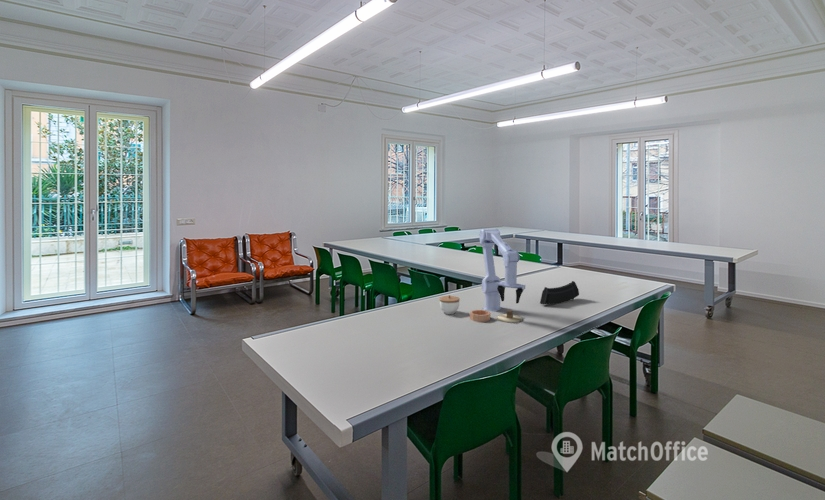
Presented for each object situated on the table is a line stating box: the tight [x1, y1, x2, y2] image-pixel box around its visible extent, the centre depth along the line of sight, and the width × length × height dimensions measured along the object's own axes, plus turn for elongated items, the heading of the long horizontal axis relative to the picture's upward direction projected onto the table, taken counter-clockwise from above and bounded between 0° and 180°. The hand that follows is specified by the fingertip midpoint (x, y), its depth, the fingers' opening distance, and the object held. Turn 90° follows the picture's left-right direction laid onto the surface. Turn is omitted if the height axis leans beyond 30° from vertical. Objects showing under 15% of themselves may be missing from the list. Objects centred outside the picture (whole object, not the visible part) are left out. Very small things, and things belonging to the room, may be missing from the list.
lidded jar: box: [439, 294, 460, 315], centre depth 228 cm, size 11×11×9 cm
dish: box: [469, 309, 491, 323], centre depth 216 cm, size 10×10×4 cm
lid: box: [496, 309, 523, 324], centre depth 215 cm, size 12×12×4 cm
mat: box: [494, 316, 526, 325], centre depth 215 cm, size 12×12×1 cm
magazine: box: [539, 280, 580, 306], centre depth 247 cm, size 17×3×30 cm
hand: (510, 301), depth 214 cm, fingers open, 7 cm apart
